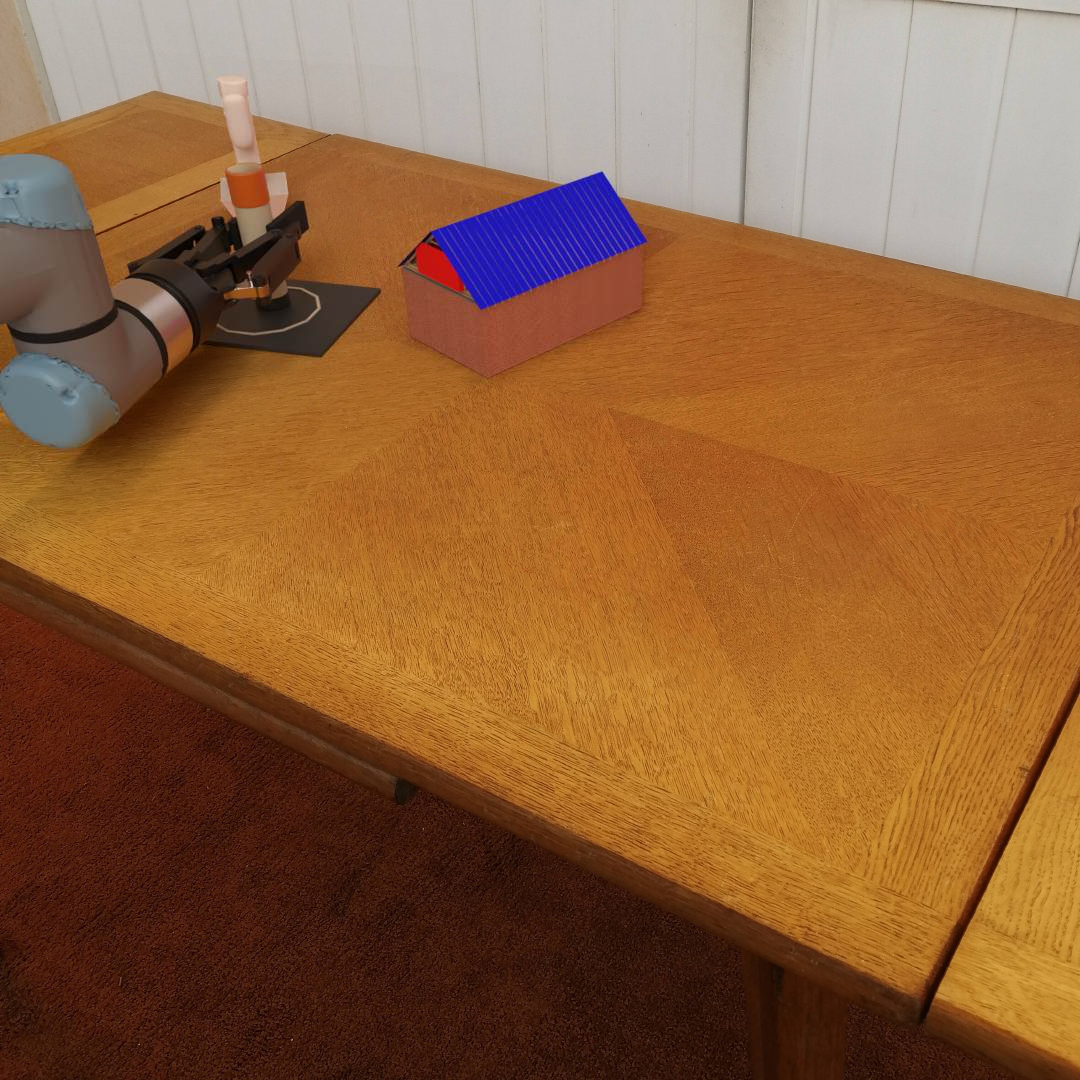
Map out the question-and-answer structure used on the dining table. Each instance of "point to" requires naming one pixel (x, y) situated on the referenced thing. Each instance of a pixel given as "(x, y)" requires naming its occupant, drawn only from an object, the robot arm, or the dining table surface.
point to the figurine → (246, 142)
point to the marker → (253, 214)
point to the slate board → (294, 319)
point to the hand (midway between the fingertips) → (284, 213)
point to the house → (525, 276)
